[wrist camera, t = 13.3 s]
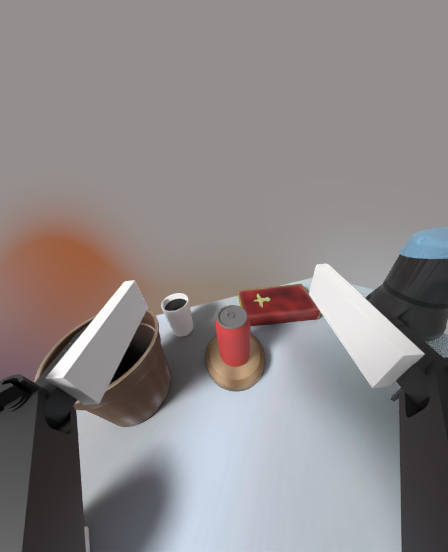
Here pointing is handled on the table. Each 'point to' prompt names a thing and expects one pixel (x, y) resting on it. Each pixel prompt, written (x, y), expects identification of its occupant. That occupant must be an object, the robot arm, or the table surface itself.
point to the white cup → (178, 314)
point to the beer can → (233, 335)
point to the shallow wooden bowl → (240, 375)
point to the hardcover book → (278, 305)
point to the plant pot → (128, 376)
